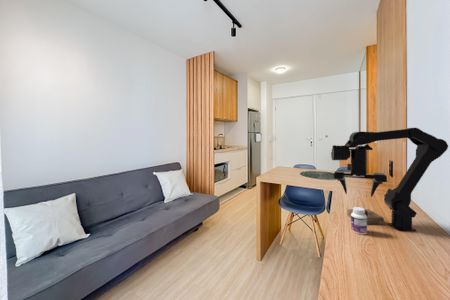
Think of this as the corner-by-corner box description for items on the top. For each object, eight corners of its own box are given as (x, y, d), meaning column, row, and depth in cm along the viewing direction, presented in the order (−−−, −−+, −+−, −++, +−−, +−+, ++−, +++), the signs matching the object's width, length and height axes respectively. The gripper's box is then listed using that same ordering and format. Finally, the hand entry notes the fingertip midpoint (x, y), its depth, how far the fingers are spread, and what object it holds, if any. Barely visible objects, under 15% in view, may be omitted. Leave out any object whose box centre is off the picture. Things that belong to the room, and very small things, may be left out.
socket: (383, 224, 84) (383, 217, 84) (359, 224, 85) (359, 217, 85) (368, 215, 94) (368, 209, 94) (347, 215, 95) (347, 209, 95)
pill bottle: (351, 227, 82) (351, 205, 82) (367, 230, 79) (367, 207, 78) (350, 232, 78) (350, 209, 78) (366, 236, 75) (366, 212, 74)
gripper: (383, 158, 85) (383, 193, 86) (335, 157, 96) (335, 188, 97) (387, 161, 76) (386, 200, 77) (333, 160, 86) (333, 194, 87)
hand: (358, 195), depth 85 cm, fingers open, 9 cm apart
